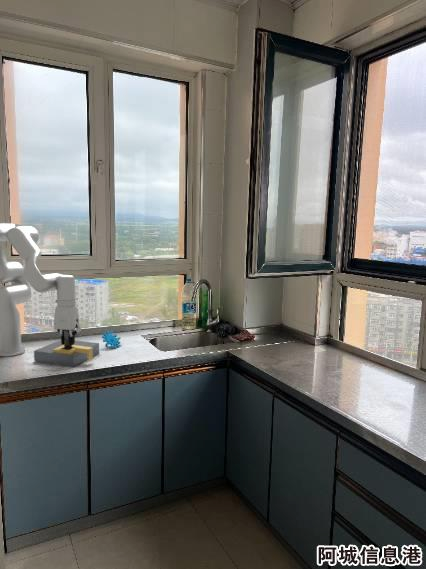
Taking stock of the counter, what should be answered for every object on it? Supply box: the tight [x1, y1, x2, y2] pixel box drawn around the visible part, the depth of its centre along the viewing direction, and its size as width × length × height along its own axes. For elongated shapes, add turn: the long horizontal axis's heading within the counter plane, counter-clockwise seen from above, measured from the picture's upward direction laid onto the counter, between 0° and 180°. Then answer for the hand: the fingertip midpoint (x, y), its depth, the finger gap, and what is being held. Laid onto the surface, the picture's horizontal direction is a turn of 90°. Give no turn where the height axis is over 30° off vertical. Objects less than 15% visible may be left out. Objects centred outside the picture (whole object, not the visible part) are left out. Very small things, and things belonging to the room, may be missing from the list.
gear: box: [101, 330, 122, 350], centre depth 212 cm, size 11×6×10 cm
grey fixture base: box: [33, 331, 100, 368], centre depth 193 cm, size 20×20×15 cm
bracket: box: [53, 345, 94, 361], centre depth 188 cm, size 16×9×5 cm, turn 73°
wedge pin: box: [64, 330, 72, 350], centre depth 188 cm, size 3×3×12 cm
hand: (68, 343), depth 188 cm, fingers closed on wedge pin, 3 cm apart
